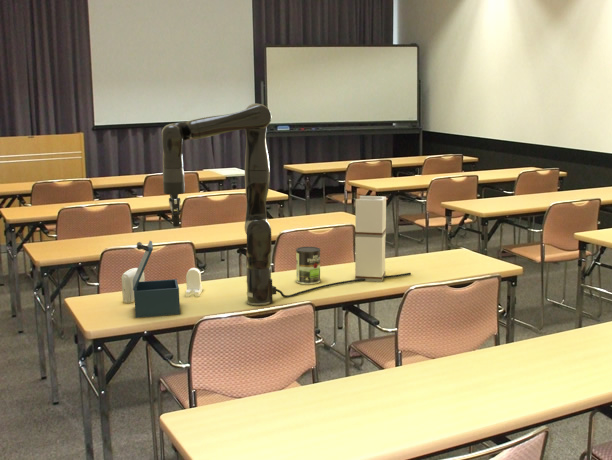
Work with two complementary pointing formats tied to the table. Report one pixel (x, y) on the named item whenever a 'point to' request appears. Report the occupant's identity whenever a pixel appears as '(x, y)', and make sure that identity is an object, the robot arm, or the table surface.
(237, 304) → the table surface
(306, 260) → the coffee can
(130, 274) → the photo printer
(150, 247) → the freezer lid
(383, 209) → the tall white pillar box
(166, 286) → the box
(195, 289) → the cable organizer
